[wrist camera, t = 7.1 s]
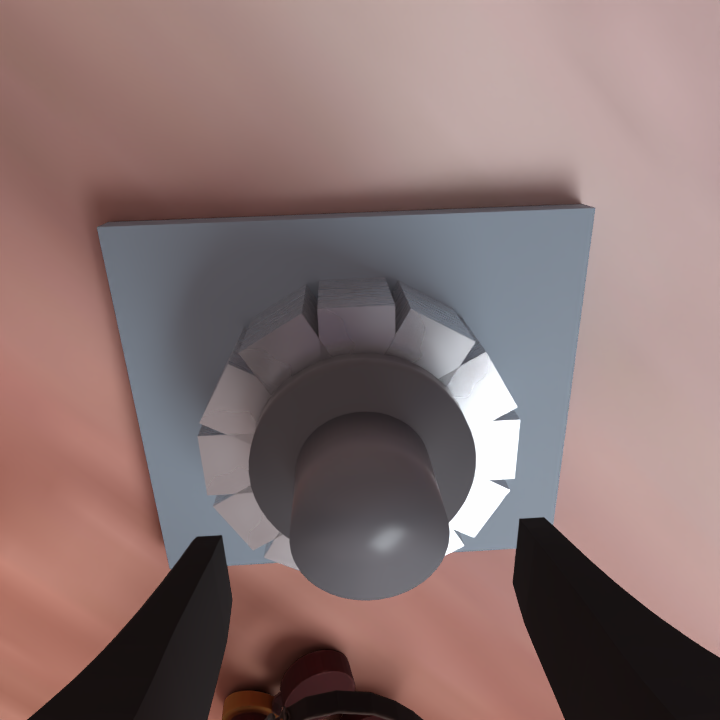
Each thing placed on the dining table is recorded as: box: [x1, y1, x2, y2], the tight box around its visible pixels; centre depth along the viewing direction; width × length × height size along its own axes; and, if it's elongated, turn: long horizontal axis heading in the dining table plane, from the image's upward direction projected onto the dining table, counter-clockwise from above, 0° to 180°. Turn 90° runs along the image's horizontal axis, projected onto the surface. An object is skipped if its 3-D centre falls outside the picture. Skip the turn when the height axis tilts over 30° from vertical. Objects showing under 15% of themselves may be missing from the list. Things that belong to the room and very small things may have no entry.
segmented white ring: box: [197, 277, 520, 571], centre depth 19 cm, size 10×10×3 cm
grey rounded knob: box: [249, 353, 476, 600], centre depth 17 cm, size 7×7×7 cm
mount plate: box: [97, 204, 595, 569], centre depth 21 cm, size 16×14×1 cm
